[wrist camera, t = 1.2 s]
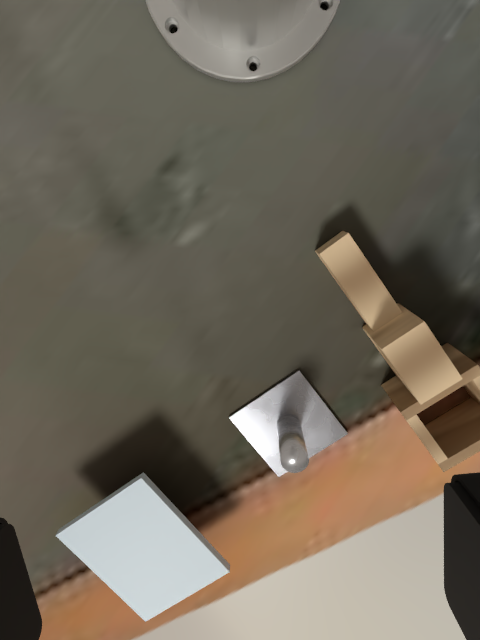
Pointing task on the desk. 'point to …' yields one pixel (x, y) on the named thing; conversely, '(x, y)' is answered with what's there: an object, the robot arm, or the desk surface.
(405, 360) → the link
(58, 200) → the desk surface
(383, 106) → the desk surface
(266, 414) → the pintle
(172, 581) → the plate
